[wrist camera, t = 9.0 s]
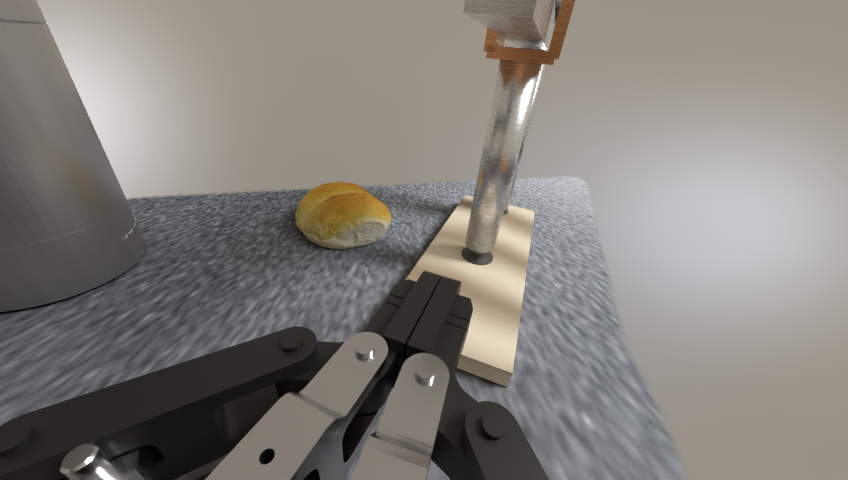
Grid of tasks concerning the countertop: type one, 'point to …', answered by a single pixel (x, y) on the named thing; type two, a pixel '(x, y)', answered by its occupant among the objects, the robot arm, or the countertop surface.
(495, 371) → the plate
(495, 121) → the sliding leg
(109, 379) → the countertop surface
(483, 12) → the metal gantry frame
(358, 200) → the bread roll
